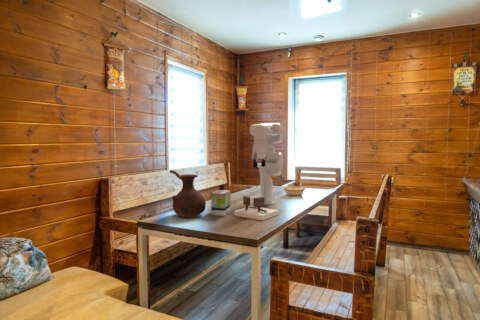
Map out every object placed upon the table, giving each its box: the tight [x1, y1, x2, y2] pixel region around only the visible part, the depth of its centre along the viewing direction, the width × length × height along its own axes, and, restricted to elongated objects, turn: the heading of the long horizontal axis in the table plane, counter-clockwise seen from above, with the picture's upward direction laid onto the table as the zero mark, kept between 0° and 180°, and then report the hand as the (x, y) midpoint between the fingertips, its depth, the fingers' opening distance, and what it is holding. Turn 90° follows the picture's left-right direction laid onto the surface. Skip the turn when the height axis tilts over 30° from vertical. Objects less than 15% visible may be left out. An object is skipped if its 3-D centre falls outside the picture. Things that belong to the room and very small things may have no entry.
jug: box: [169, 169, 207, 219], centre depth 205 cm, size 22×22×30 cm
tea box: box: [210, 189, 232, 217], centre depth 212 cm, size 15×10×15 cm
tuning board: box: [233, 205, 279, 221], centre depth 207 cm, size 19×22×3 cm
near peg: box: [253, 196, 267, 212], centre depth 202 cm, size 9×7×8 cm
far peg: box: [242, 195, 258, 210], centre depth 210 cm, size 9×7×8 cm
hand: (259, 167), depth 218 cm, fingers open, 9 cm apart
